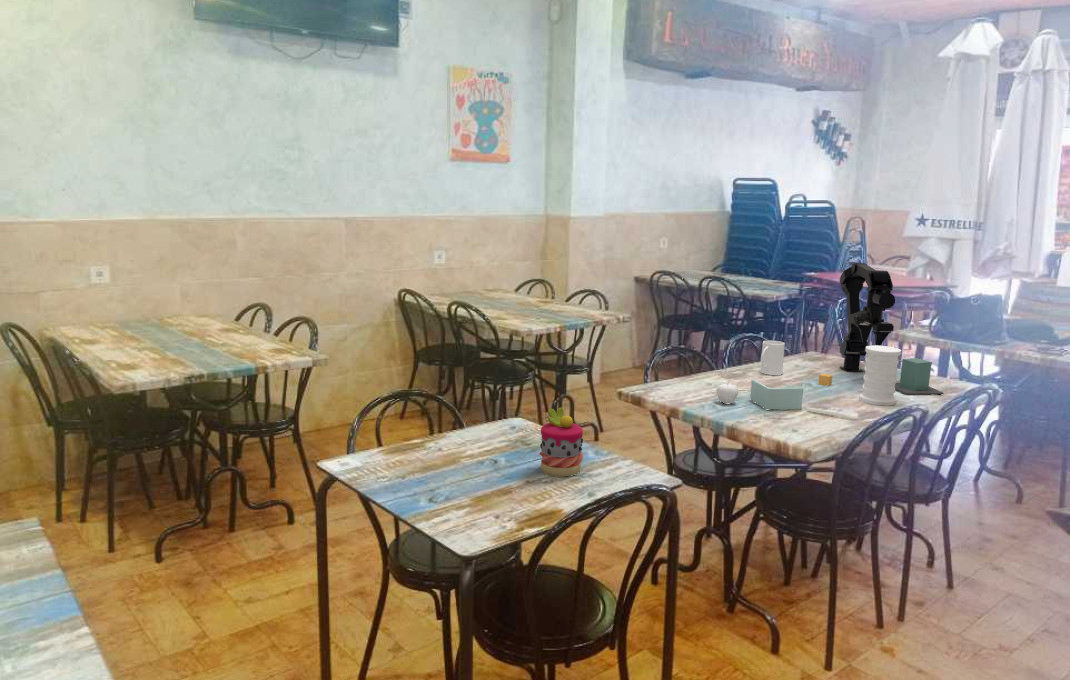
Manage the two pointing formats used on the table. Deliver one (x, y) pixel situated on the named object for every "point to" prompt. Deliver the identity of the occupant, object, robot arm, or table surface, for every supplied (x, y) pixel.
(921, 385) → the green block
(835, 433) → the table surface
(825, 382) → the orange cube
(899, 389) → the mat
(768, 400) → the right angle wall
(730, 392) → the plain white apple
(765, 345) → the mug
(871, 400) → the decorative container
